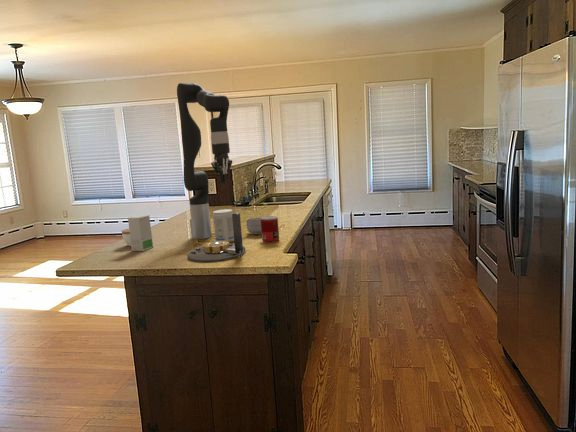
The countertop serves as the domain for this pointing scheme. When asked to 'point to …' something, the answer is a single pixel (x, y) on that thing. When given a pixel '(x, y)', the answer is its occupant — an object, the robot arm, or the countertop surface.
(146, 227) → the skincare box
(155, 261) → the countertop surface
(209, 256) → the flange plate
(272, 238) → the canned food
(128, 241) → the lidded jar
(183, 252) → the countertop surface
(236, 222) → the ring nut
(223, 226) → the supplement tub
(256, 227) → the teacup
